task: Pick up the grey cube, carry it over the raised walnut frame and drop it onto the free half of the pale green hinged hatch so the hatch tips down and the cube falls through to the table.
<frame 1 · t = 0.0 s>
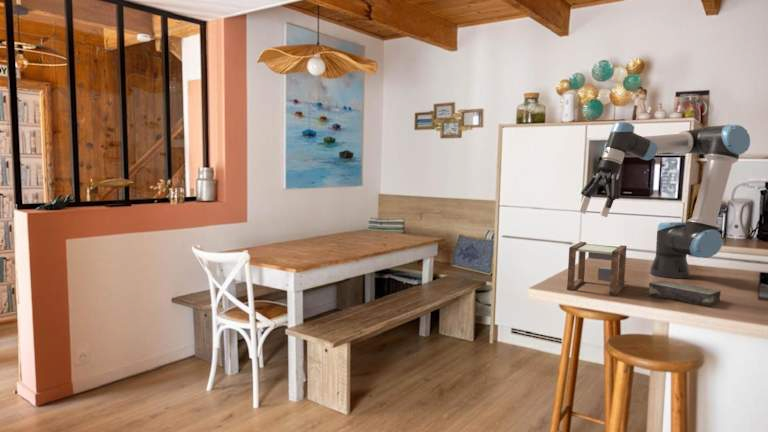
hand: (592, 214, 202), 28 cm above the table, tool tilted 20°, fingers open, 13 cm apart
walnut frame: (595, 288, 200), on the table
stone block: (683, 300, 187), on the table
grey cube: (605, 279, 216), on the table
hatch: (599, 253, 202), point 13 cm above the table, hinge at 0.0°
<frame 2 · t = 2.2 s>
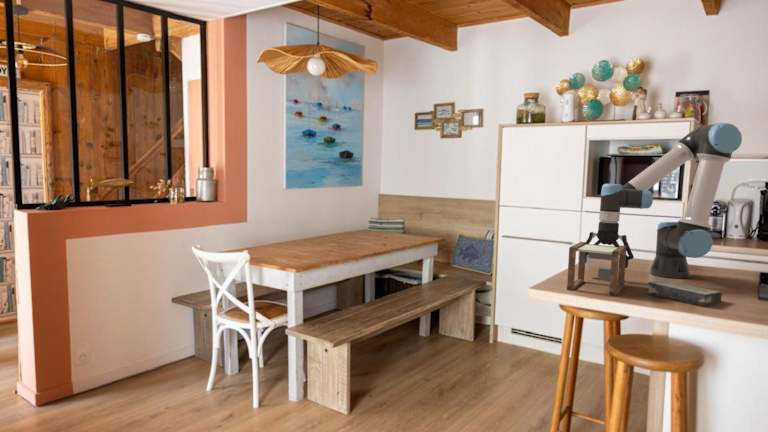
hand: (604, 273, 216), 3 cm above the table, tool pointing down, fingers open, 13 cm apart
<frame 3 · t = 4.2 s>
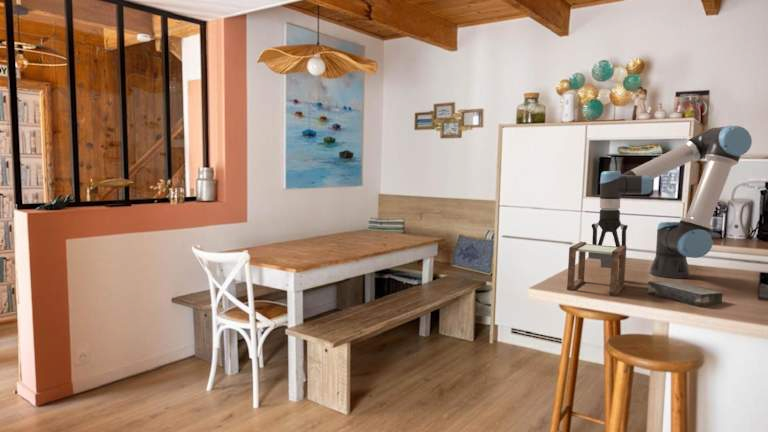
hand: (608, 265, 216), 6 cm above the table, tool pointing down, fingers closed on grey cube, 5 cm apart
grey cube: (608, 266, 216), point 5 cm above the table, touching gripper
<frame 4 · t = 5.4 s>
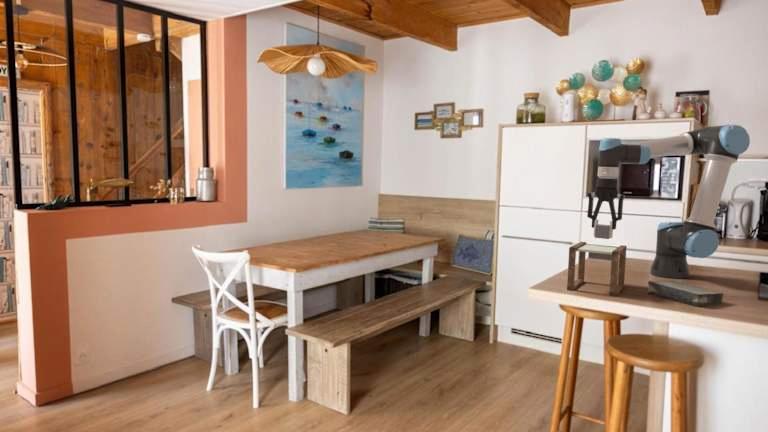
hand: (602, 236, 209), 18 cm above the table, tool pointing down, fingers closed on grey cube, 5 cm apart
grey cube: (602, 237, 209), point 18 cm above the table, touching gripper
when the fingers open (17 cm above the table, at t = 6.6 s): grey cube stays where it is, point 16 cm above the table.
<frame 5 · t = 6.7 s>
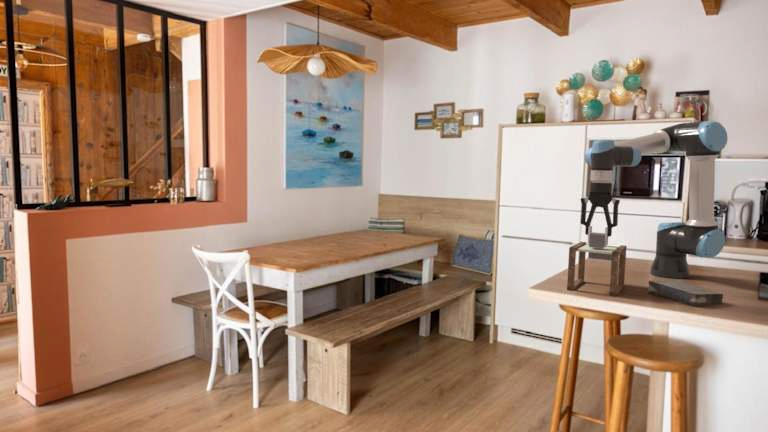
hand: (597, 244, 197), 17 cm above the table, tool pointing down, fingers open, 5 cm apart
grey cube: (597, 246, 197), point 16 cm above the table
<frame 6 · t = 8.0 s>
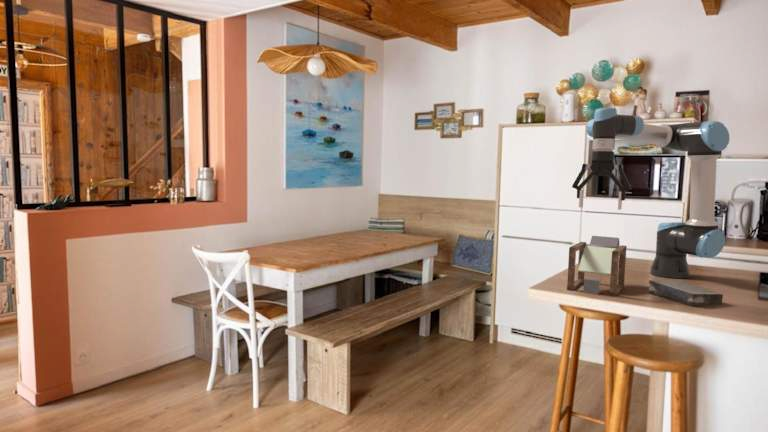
hand: (599, 208, 196), 31 cm above the table, tool pointing down, fingers open, 13 cm apart
grey cube: (592, 278, 194), point 5 cm above the table, tilted 180°
hatch: (600, 257, 204), point 11 cm above the table, hinge at -36.6°
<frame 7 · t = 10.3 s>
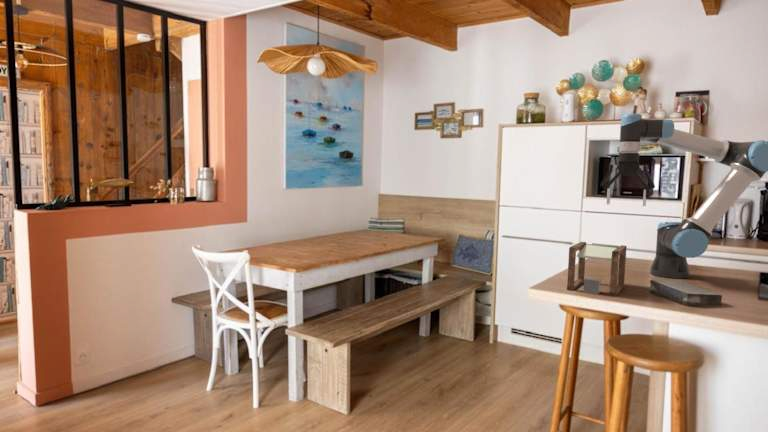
hand: (625, 205, 216), 31 cm above the table, tool pointing down, fingers open, 13 cm apart
hatch: (599, 255, 202), point 12 cm above the table, hinge at -9.4°
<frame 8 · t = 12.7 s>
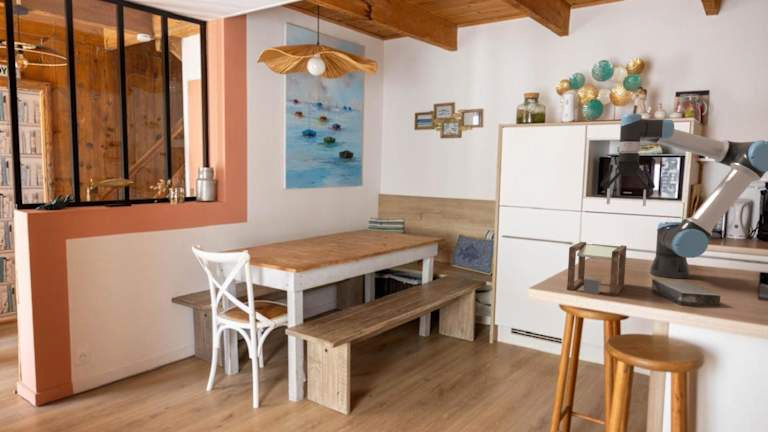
hand: (625, 205, 216), 31 cm above the table, tool pointing down, fingers open, 13 cm apart
hatch: (599, 254, 202), point 12 cm above the table, hinge at -7.7°
at the end: grey cube point 4.9 cm above the table; grey cube inside the target area (6.3 cm from its centre), point 4.9 cm above the table; the gripper is holding nothing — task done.
